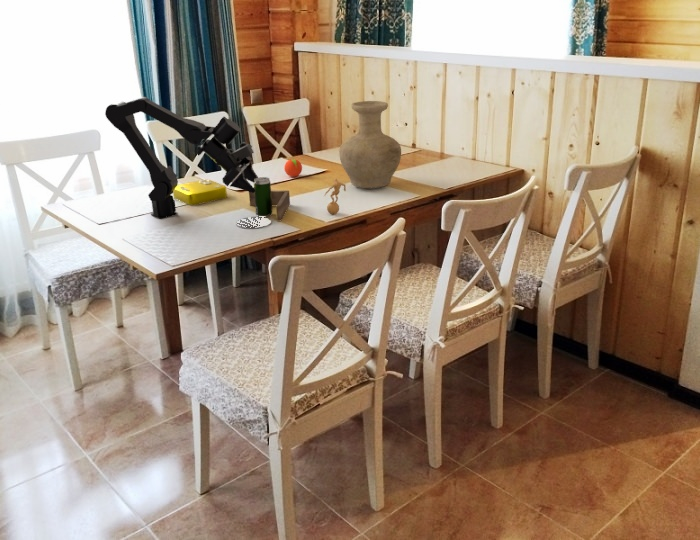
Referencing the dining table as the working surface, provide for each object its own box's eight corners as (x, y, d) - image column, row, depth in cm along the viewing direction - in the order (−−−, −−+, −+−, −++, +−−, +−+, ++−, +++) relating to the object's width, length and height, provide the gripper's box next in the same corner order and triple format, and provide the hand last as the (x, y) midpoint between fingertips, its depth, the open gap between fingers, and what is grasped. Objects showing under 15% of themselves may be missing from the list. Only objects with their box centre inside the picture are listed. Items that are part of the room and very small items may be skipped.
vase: (391, 196, 240) (391, 109, 229) (331, 192, 247) (328, 107, 236) (407, 180, 260) (408, 99, 248) (351, 176, 267) (349, 97, 255)
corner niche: (238, 221, 219) (237, 206, 217) (250, 204, 236) (249, 190, 234) (280, 221, 218) (279, 206, 216) (290, 204, 234) (289, 190, 233)
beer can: (260, 218, 221) (257, 182, 217) (253, 214, 225) (250, 178, 221) (275, 215, 224) (273, 179, 219) (268, 211, 228) (265, 176, 224)
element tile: (171, 198, 247) (170, 185, 245) (209, 189, 256) (207, 177, 254) (191, 206, 236) (189, 193, 234) (229, 198, 245) (228, 185, 243)
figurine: (339, 209, 228) (338, 174, 223) (351, 214, 223) (350, 178, 219) (319, 215, 223) (317, 179, 218) (330, 219, 219) (329, 182, 214)
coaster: (250, 231, 210) (250, 230, 210) (229, 223, 217) (229, 222, 217) (278, 222, 217) (278, 221, 217) (257, 215, 224) (257, 214, 224)
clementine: (305, 178, 266) (304, 160, 264) (288, 180, 264) (287, 162, 261) (299, 173, 273) (298, 155, 270) (282, 175, 271) (281, 157, 268)
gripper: (228, 142, 206) (268, 177, 210) (243, 130, 223) (279, 163, 227) (206, 168, 210) (245, 202, 213) (221, 154, 227) (257, 186, 230)
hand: (257, 187), depth 221 cm, fingers open, 9 cm apart
